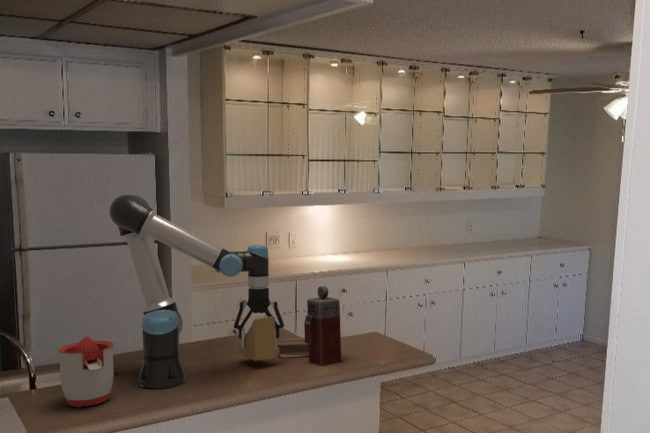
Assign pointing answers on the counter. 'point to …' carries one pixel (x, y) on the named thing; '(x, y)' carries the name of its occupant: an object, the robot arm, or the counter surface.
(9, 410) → the counter surface
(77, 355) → the citrus juicer
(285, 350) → the walnut stand
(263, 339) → the sandwich container
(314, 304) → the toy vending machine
